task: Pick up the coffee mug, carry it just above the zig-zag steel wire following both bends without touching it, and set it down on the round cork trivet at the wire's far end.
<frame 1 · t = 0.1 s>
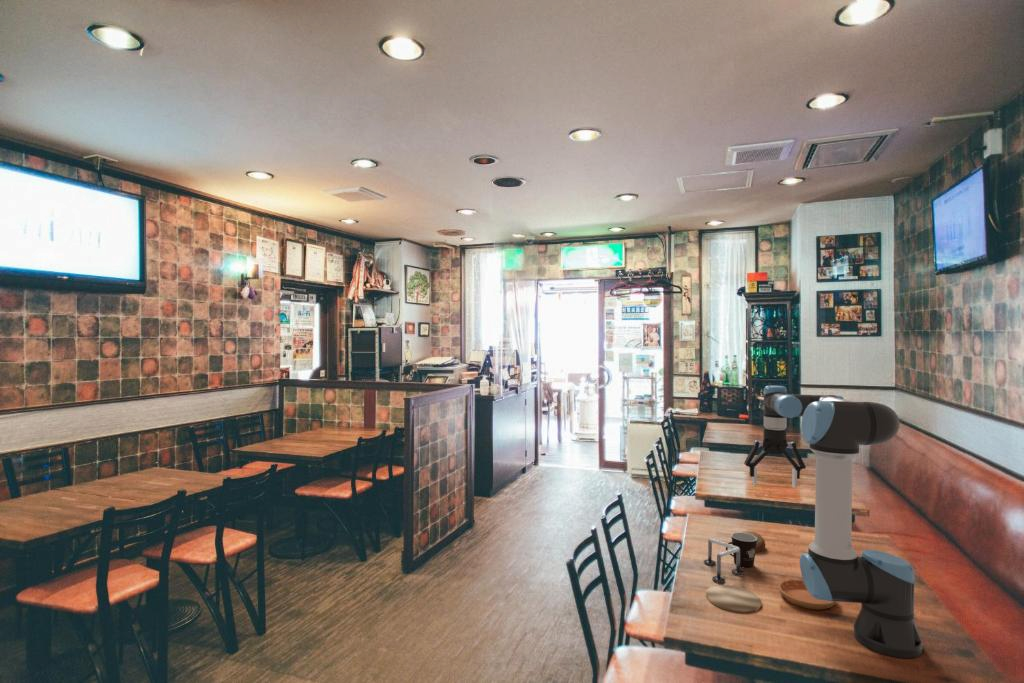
hand: (774, 486, 195), 28 cm above the table, tool pointing down, fingers open, 13 cm apart
coffee mug: (739, 564, 194), on the table
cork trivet: (733, 599, 168), on the table
bent wire: (726, 572, 187), on the table
saucer: (806, 600, 168), on the table
bread roll: (751, 547, 211), on the table
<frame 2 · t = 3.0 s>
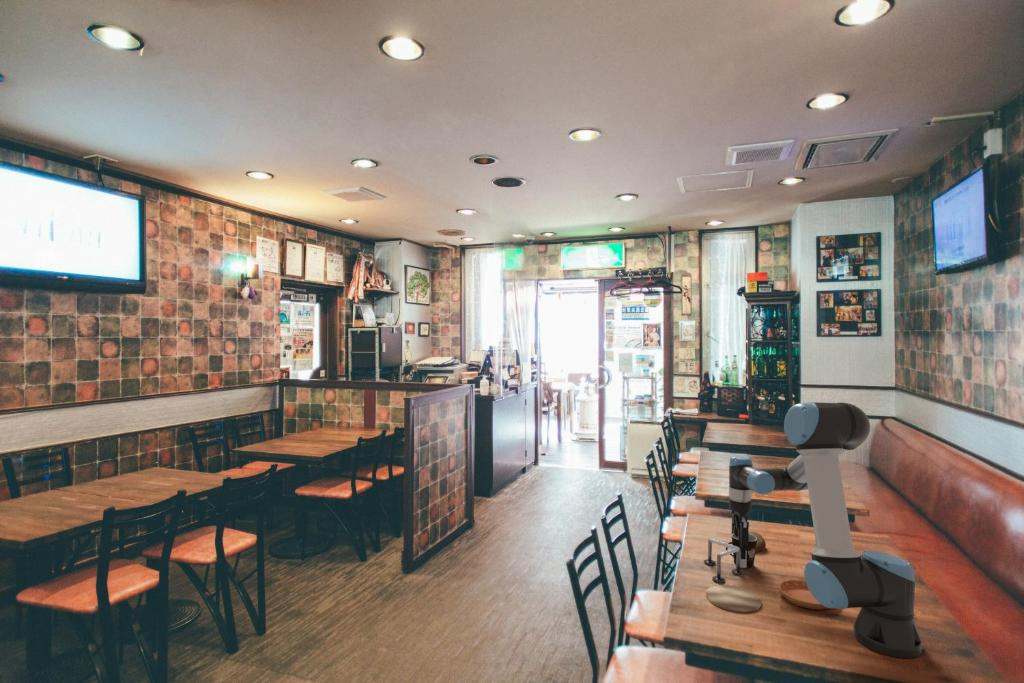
hand: (739, 562, 194), 0 cm above the table, tool pointing down, fingers closed on coffee mug, 6 cm apart
coffee mug: (739, 564, 194), on the table, touching gripper
everything else where it was.
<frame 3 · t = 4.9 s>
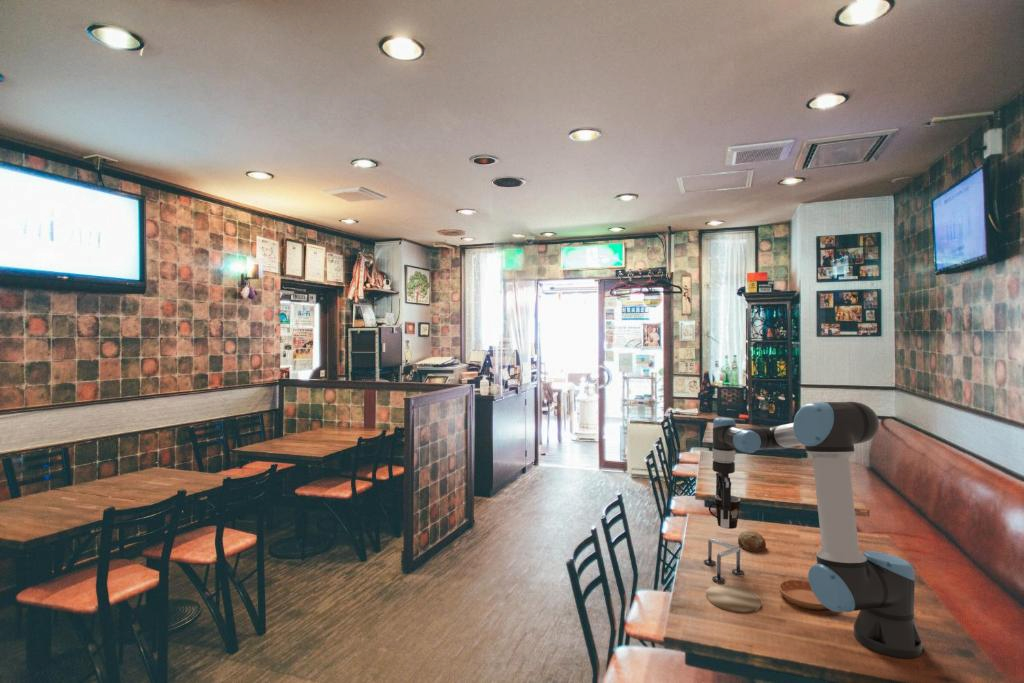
hand: (722, 523, 195), 14 cm above the table, tool pointing down, fingers closed on coffee mug, 6 cm apart
coffee mug: (722, 525, 195), point 14 cm above the table, touching gripper
everything else where it was.
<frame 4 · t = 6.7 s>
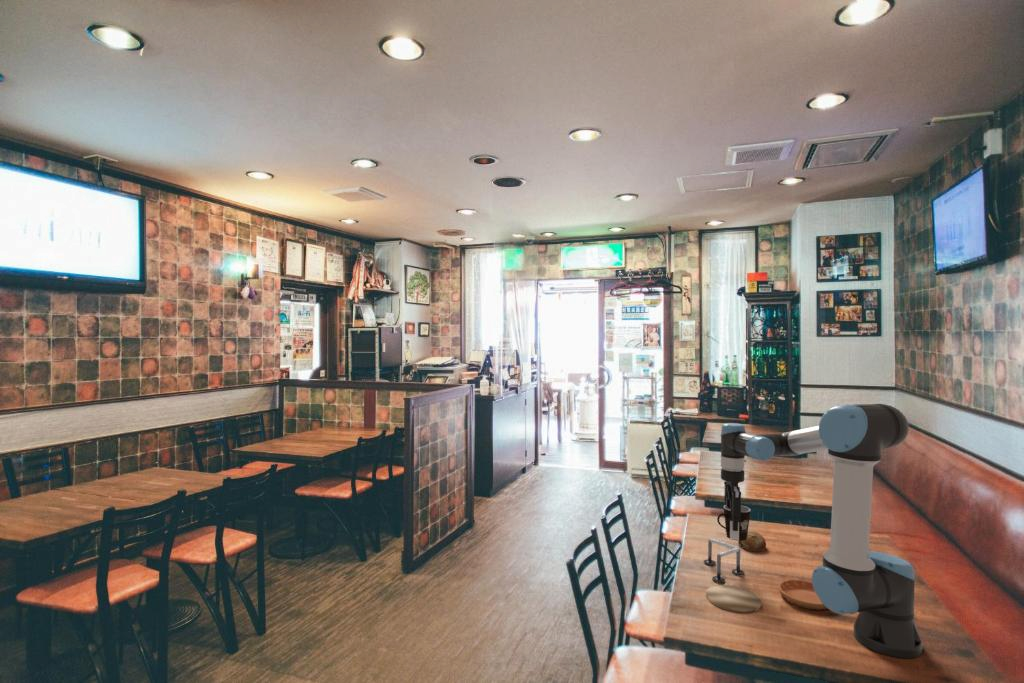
hand: (732, 535, 184), 14 cm above the table, tool pointing down, fingers closed on coffee mug, 6 cm apart
coffee mug: (732, 537, 184), point 13 cm above the table, touching gripper
everything else where it was.
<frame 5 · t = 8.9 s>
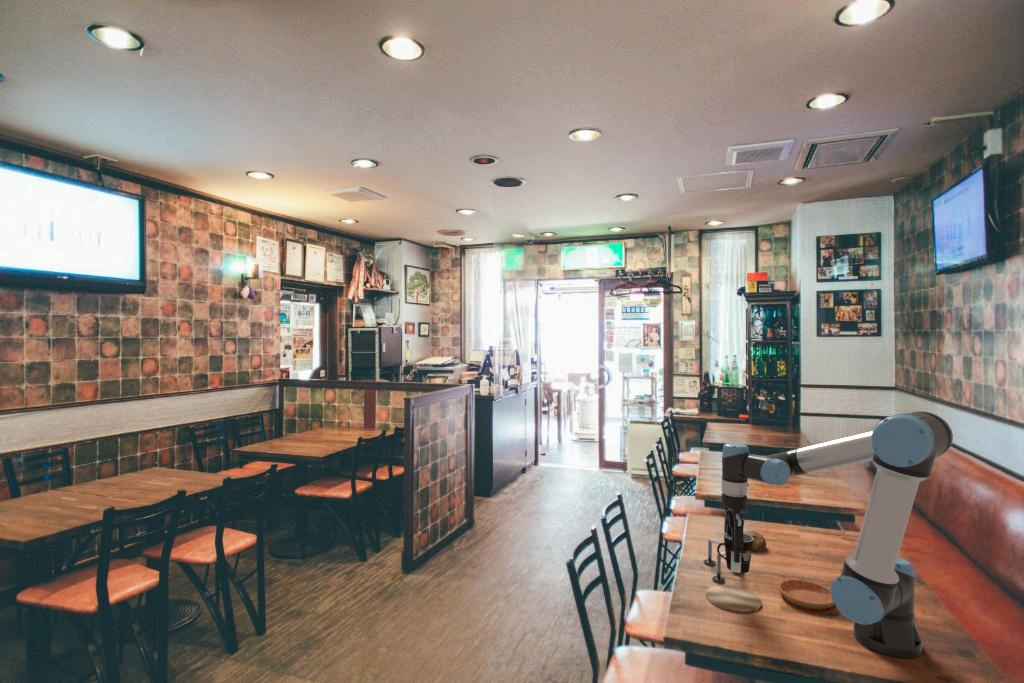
hand: (732, 566, 168), 10 cm above the table, tool pointing down, fingers closed on coffee mug, 6 cm apart
coffee mug: (732, 568, 168), point 10 cm above the table, touching gripper
everything else where it was.
when the fingers open (2 cm above the table, at t = 10.7 s): coffee mug stays where it is, resting on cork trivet.
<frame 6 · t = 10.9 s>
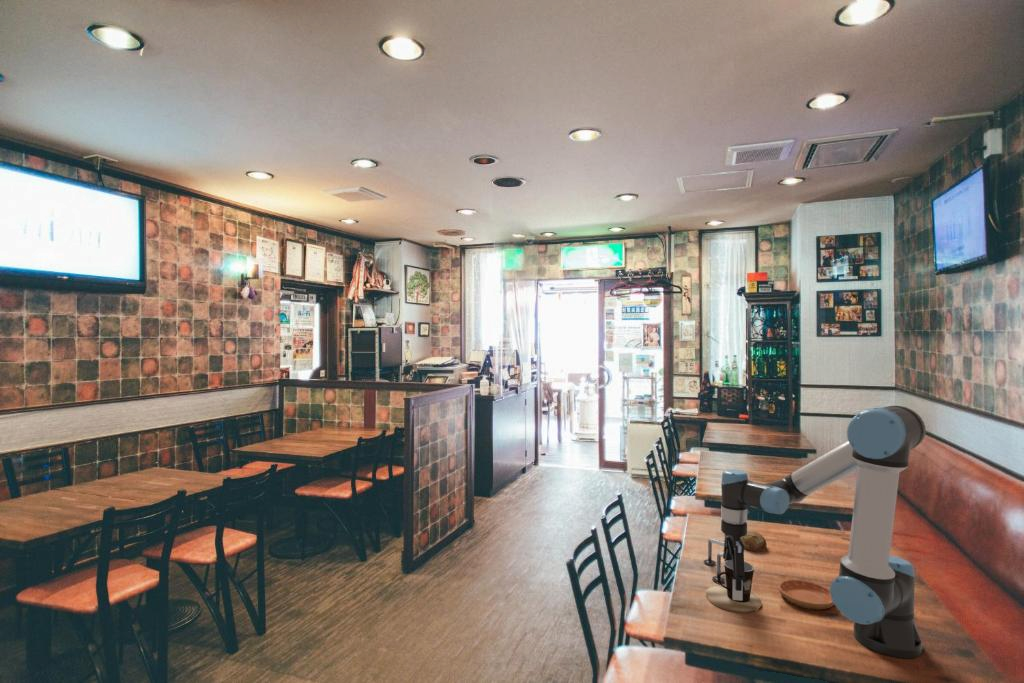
hand: (733, 592, 168), 2 cm above the table, tool pointing down, fingers open, 9 cm apart
coffee mug: (733, 597, 168), point 1 cm above the table, touching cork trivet
everything else where it was.
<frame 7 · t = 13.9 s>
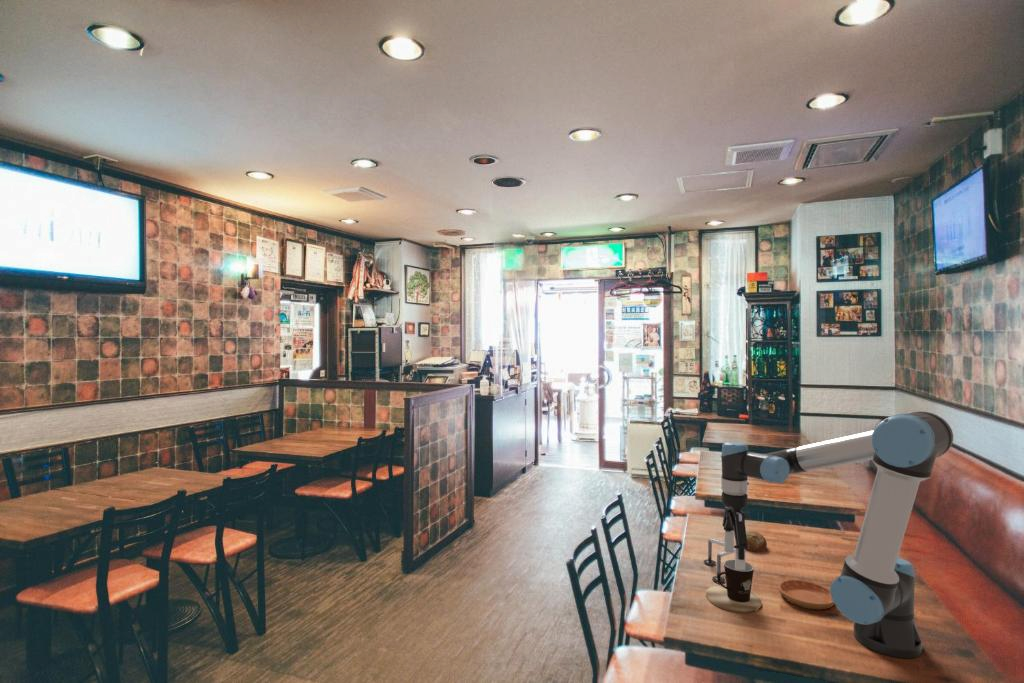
hand: (734, 560, 168), 12 cm above the table, tool pointing down, fingers open, 13 cm apart
nothing on the table moved.
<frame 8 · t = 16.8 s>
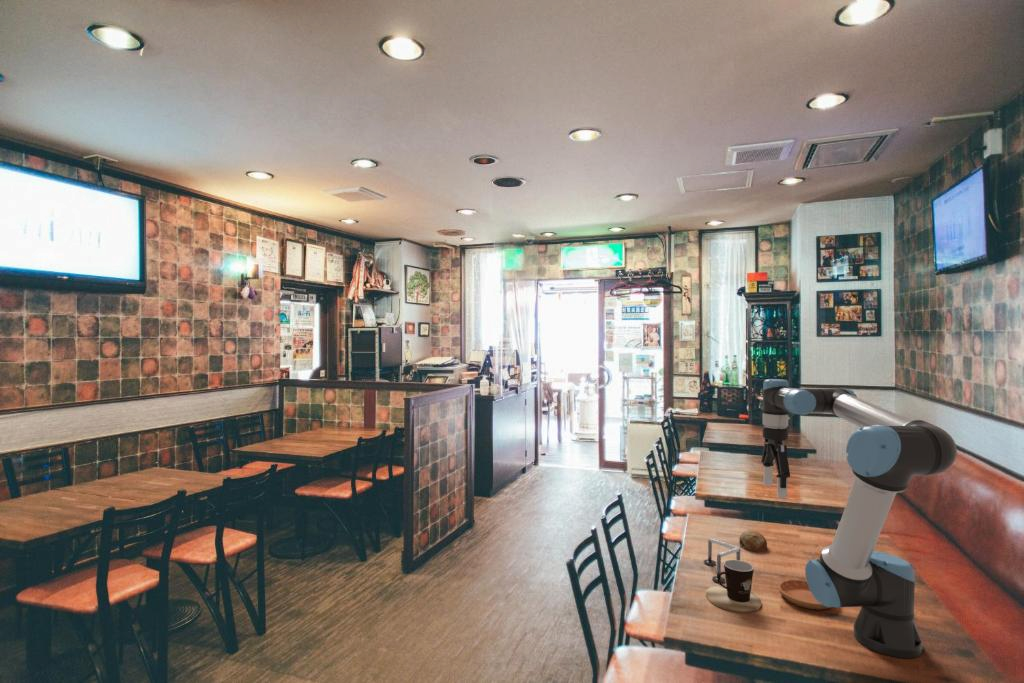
hand: (774, 491, 175), 32 cm above the table, tool pointing down, fingers open, 13 cm apart
at the end: coffee mug inside the target area on the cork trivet (0.2 cm from its centre), point 0.6 cm above the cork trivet's base; coffee mug tilted 0°; bent wire moved 0.0 cm from its start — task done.
